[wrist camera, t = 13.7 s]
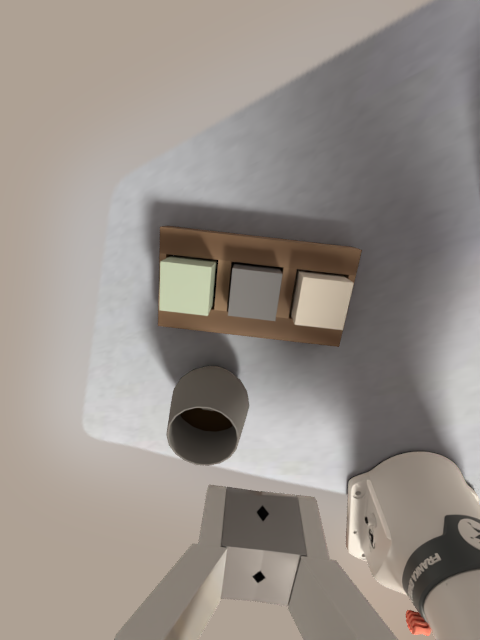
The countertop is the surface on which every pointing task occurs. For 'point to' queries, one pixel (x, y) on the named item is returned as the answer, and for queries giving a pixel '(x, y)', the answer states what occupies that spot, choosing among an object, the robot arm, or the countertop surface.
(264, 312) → the graphite key
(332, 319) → the ivory key
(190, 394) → the cup
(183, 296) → the sage key
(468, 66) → the countertop surface
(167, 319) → the wooden tray
